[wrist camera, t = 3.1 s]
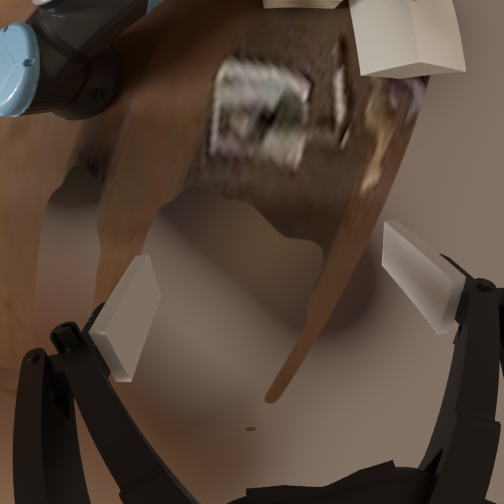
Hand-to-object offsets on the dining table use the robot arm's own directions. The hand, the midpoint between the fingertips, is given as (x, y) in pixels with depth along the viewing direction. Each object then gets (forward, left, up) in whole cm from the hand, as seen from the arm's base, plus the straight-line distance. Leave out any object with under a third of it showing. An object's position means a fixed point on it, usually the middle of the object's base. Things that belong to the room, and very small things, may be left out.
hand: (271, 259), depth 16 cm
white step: (+25, +21, -35) cm, 48 cm away
